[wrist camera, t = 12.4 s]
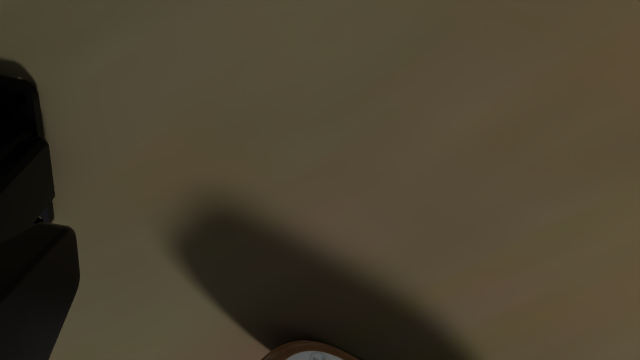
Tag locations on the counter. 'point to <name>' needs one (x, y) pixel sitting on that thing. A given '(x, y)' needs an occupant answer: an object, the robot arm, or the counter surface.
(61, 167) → the counter surface
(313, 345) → the tin
